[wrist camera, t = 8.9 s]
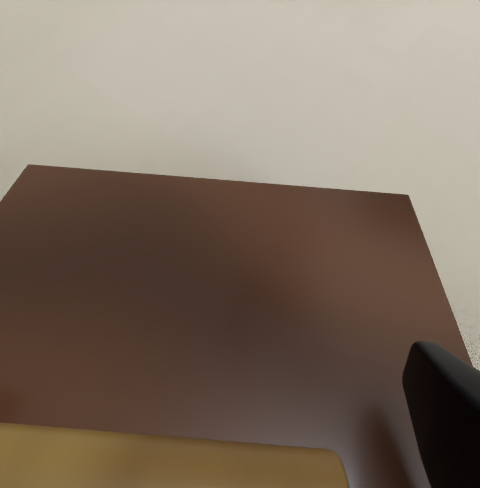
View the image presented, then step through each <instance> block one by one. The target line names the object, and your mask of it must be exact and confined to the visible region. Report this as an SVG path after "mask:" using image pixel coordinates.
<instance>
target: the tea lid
mask: <svg viewBox="0 0 480 488" xmlns="http://www.w3.org/2000/svg"><path fill="white" fill-rule="evenodd" d="M416 341H423V342H434V343H437V344H439V345H441V346H442V347H444V348H445V349H447V350H448V351H450V352H451V353H453V354H454V355H456V356H457V357H459V358H460V359H462V360H463V361H465V362H466V363H468V364H469V365H471V366H472V363H471V360H470V358H469V355H468V352H467V350H466V347H465V344H464V342H463V339H462V336H461V334H460V331H459V328H458V326H457V323H456V320H455V318H454V315H453V312H452V310H451V307H450V304H449V302H448V299H447V296H446V294H445V291H444V288H443V286H442V283H441V280H440V278H439V275H438V272H437V270H436V267H435V264H434V262H433V259H432V256H431V254H430V251H429V248H428V246H427V243H426V240H425V238H424V235H423V232H422V230H421V227H420V224H419V222H418V219H417V216H416V214H415V211H414V208H413V206H412V203H411V200H410V198H409V195H405V194H392V193H380V192H367V191H355V190H342V189H330V188H317V187H305V186H292V185H280V184H267V183H255V182H242V181H230V180H217V179H205V178H193V177H180V176H168V175H155V174H143V173H130V172H118V171H105V170H93V169H80V168H68V167H55V166H43V165H30V164H29V165H27V167H26V168H25V169H24V171H23V172H22V173H21V175H20V176H19V177H18V179H17V180H16V182H15V183H14V184H13V186H12V187H11V188H10V190H9V191H8V192H7V194H6V195H5V196H4V198H3V199H2V200H1V202H0V488H431V486H430V483H429V481H428V478H427V475H426V472H425V469H424V466H423V463H422V460H421V456H420V453H419V449H418V445H417V441H416V437H415V433H414V429H413V425H412V421H411V417H410V413H409V409H408V405H407V401H406V397H405V393H404V389H403V385H402V375H403V371H404V368H405V364H406V361H407V358H408V355H409V351H410V348H411V346H412V344H413V343H414V342H416ZM472 367H473V366H472Z"/></svg>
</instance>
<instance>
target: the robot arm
mask: <svg viewBox="0 0 480 488" xmlns="http://www.w3.org/2000/svg"><path fill="white" fill-rule="evenodd" d="M402 385H403V389H404V393H405V397H406V401H407V405H408V409H409V413H410V417H411V421H412V425H413V429H414V433H415V437H416V441H417V445H418V449H419V453H420V456H421V460H422V463H423V466H424V469H425V472H426V475H427V478H428V481H429V483H430V486H431V488H480V371H479V370H477V369H475V368H474V367H472V366H471V365H469V364H468V363H466V362H465V361H463V360H462V359H460V358H459V357H457V356H456V355H454V354H453V353H451V352H450V351H448V350H447V349H445V348H444V347H442V346H441V345H439V344H437V343H434V342H423V341H416V342H414V343H413V344H412V346H411V348H410V351H409V355H408V358H407V361H406V364H405V368H404V371H403V375H402Z"/></svg>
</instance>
